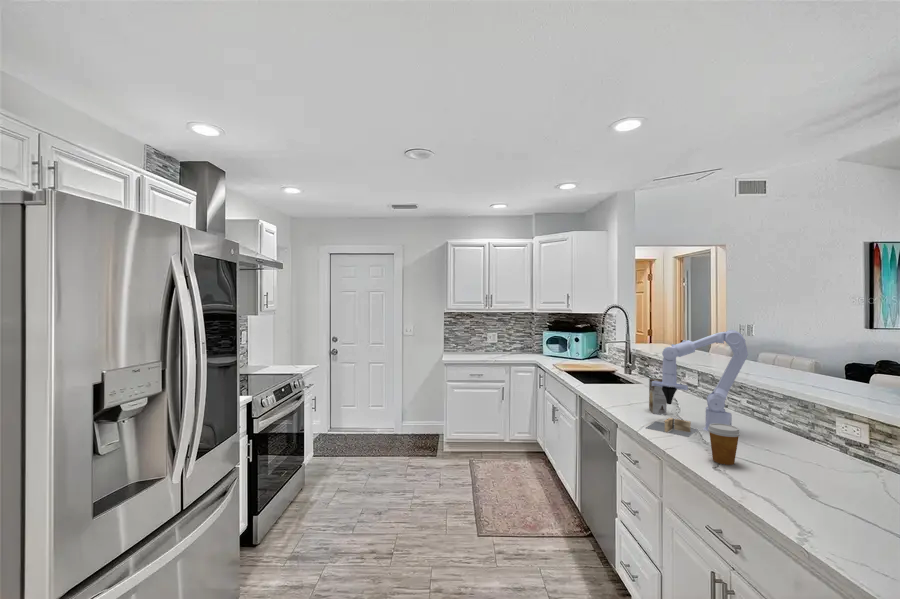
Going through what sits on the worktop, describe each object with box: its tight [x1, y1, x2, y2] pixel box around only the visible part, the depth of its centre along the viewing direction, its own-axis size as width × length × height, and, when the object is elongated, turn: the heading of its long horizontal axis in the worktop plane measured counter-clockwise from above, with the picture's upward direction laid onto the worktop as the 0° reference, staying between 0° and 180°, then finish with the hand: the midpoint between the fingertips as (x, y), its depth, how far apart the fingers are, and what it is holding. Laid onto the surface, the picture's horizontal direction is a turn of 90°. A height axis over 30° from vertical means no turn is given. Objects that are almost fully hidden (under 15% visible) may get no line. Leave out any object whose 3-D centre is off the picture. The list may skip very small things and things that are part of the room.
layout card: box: [645, 421, 699, 438], centre depth 184 cm, size 17×15×1 cm
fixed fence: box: [674, 418, 692, 432], centre depth 182 cm, size 6×1×4 cm, turn 48°
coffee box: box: [648, 378, 668, 416], centre depth 215 cm, size 9×6×16 cm
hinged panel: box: [663, 417, 675, 433], centre depth 182 cm, size 8×2×4 cm, turn 136°
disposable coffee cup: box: [708, 423, 741, 466], centre depth 148 cm, size 10×10×12 cm
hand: (669, 403), depth 192 cm, fingers closed
